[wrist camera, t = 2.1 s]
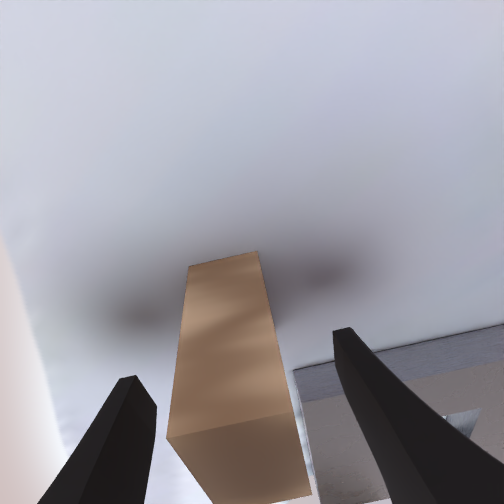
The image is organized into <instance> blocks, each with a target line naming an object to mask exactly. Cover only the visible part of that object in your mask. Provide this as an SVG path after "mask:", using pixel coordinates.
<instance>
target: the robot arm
mask: <svg viewBox="0 0 504 504" xmlns="http://www.w3.org/2000/svg"><path fill="white" fill-rule="evenodd" d="M333 344H334V358H335V368H336V371H337V373H338V376H339V379H340V382H341V385H342V388H343V391H344V393H345V396H346V398H347V400H348V403H349V405H350V407H351V409H352V411H353V413H354V416H355V418H356V420H357V422H358V424H359V426H360V428H361V431H362V433H363V435H364V437H365V439H366V441H367V443H368V446H369V448H370V450H371V452H372V454H373V456H374V458H375V461H376V463H377V465H378V468H379V470H380V472H381V475H382V477H383V480H384V482H385V485H386V488H387V490H388V493H389V496H390V498H391V501H392V504H504V464H503V463H502V462H500V461H499V460H498V459H496V458H495V457H493V456H492V455H490V454H489V453H488V452H486V451H485V450H483V449H482V448H481V447H480V446H478V445H477V444H476V443H474V442H473V441H472V440H470V439H469V438H468V437H466V436H465V435H464V434H463V433H461V432H460V431H459V430H457V429H456V428H455V427H454V426H452V425H451V424H450V423H449V422H447V421H446V420H445V419H444V418H443V417H441V416H440V415H439V414H438V413H437V412H435V411H434V410H433V409H432V408H431V407H430V406H428V405H427V404H426V403H425V402H424V401H423V400H422V399H420V398H419V397H418V396H417V395H416V394H415V393H414V392H413V391H412V390H410V389H409V388H408V387H407V386H406V385H405V384H404V383H403V382H402V381H401V380H400V379H399V378H398V377H397V376H396V375H395V374H394V373H393V372H392V371H391V370H390V369H389V368H388V367H387V366H386V365H385V364H384V363H383V362H382V361H381V360H380V359H379V358H378V357H377V356H376V355H375V354H374V353H373V352H372V351H371V350H370V349H369V348H368V346H367V345H366V344H365V343H364V342H363V341H362V340H361V339H360V337H359V336H358V335H357V334H356V333H355V331H354V330H353V329H352V328H350V327H348V328H344V329H339V330H335V331H333ZM156 417H157V405H156V404H155V402H154V401H153V399H152V398H151V397H150V395H149V394H148V392H147V391H146V389H145V388H144V386H143V385H142V383H141V382H140V380H139V379H138V377H137V376H136V375H133V376H129V377H125V378H120V379H119V380H118V382H117V383H116V385H115V387H114V388H113V390H112V391H111V393H110V395H109V396H108V398H107V399H106V401H105V403H104V404H103V406H102V408H101V409H100V411H99V412H98V414H97V416H96V417H95V419H94V421H93V422H92V424H91V425H90V427H89V428H88V430H87V432H86V433H85V435H84V436H83V438H82V439H81V441H80V443H79V444H78V446H77V447H76V449H75V450H74V452H73V453H72V455H71V456H70V458H69V459H68V461H67V462H66V464H65V465H64V467H63V468H62V470H61V471H60V472H59V474H58V475H57V477H56V479H55V480H54V481H53V483H52V484H51V485H50V487H49V488H48V490H47V491H46V492H45V494H44V495H43V496H42V498H41V499H40V501H39V502H38V503H37V504H144V500H145V495H146V489H147V483H148V477H149V472H150V466H151V460H152V454H153V448H154V442H155V434H156Z"/></svg>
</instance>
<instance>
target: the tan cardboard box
mask: <svg viewBox="0 0 504 504" xmlns="http://www.w3.org/2000/svg"><path fill="white" fill-rule="evenodd" d="M166 439H167V440H168V442H169V443H170V445H171V446H172V447H173V449H174V450H175V451H176V453H177V454H178V456H179V457H180V458H181V460H182V461H183V463H184V464H185V465H186V467H187V468H188V470H189V471H190V472H191V474H192V475H193V476H194V478H195V479H196V481H197V482H198V483H199V485H200V486H201V488H202V489H203V490H204V492H205V493H206V495H207V496H208V497H209V499H210V500H211V501H212V503H213V504H271V503H276V502H281V501H285V500H290V499H295V498H300V497H304V496H309V495H312V492H311V487H310V483H309V478H308V474H307V469H306V465H305V461H304V456H303V452H302V447H301V443H300V438H299V434H298V430H297V425H296V421H295V416H294V412H293V407H292V403H291V399H290V394H289V390H288V385H287V381H286V376H285V372H284V368H283V363H282V359H281V354H280V350H279V345H278V341H277V337H276V332H275V328H274V323H273V319H272V314H271V310H270V306H269V301H268V297H267V292H266V288H265V283H264V279H263V275H262V270H261V266H260V261H259V257H258V252H257V251H254V252H250V253H245V254H241V255H237V256H232V257H228V258H223V259H219V260H214V261H210V262H206V263H201V264H197V265H192V266H189V269H188V276H187V284H186V291H185V299H184V307H183V314H182V322H181V329H180V337H179V345H178V352H177V360H176V367H175V375H174V382H173V390H172V398H171V405H170V413H169V420H168V428H167V436H166Z"/></svg>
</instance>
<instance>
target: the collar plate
mask: <svg viewBox="0 0 504 504" xmlns="http://www.w3.org/2000/svg"><path fill="white" fill-rule="evenodd" d="M374 354H375V355H376V356H377V357H378V358H379V359H380V360H381V361H382V362H383V363H384V364H385V365H386V366H387V367H388V368H389V369H390V370H391V371H392V372H393V373H394V374H395V375H396V376H397V377H398V378H399V379H400V380H401V381H402V382H403V383H404V384H405V385H406V386H407V387H408V388H409V389H410V390H412V391H413V392H414V393H415V394H416V395H417V396H418V397H419V398H420V399H422V400H423V401H424V402H425V403H426V404H427V405H428V406H430V407H431V408H432V409H433V410H434V411H435V412H437V413H438V414H439V415H440V416H446V415H448V416H447V420H446V421H447V422H449V423H450V424H451V425H452V426H454V427H455V428H456V429H457V430H459V431H460V432H461V433H463V434H464V435H465V436H466V437H468V438H469V439H470V440H472V441H473V442H474V443H476V444H477V445H478V446H480V447H481V448H482V449H483V450H485V451H486V452H488V453H489V454H490V455H492V456H493V457H495V458H496V459H498V460H499V461H500V462H502V463H503V464H504V325H500V326H495V327H491V328H486V329H481V330H477V331H472V332H468V333H463V334H458V335H454V336H449V337H445V338H440V339H436V340H431V341H426V342H422V343H417V344H413V345H408V346H403V347H399V348H394V349H390V350H385V351H380V352H376V353H374ZM293 373H294V378H295V383H296V388H297V393H298V398H299V403H300V408H301V413H302V418H303V423H304V428H305V433H306V438H307V443H308V448H309V453H310V458H311V463H312V468H313V473H314V478H315V482H316V487H317V491H318V496H319V500H320V503H321V504H364V503H369V502H373V501H378V500H383V499H387V498H390V496H389V493H388V490H387V488H386V485H385V482H384V480H383V477H382V475H381V472H380V470H379V468H378V465H377V463H376V461H375V458H374V456H373V454H372V452H371V450H370V448H369V446H368V443H367V441H366V439H365V437H364V435H363V433H362V431H361V428H360V426H359V424H358V422H357V420H356V418H355V416H354V413H353V411H352V409H351V407H350V405H349V403H348V400H347V398H346V396H345V393H344V391H343V388H342V385H341V382H340V379H339V376H338V373H337V371H336V368H335V362H330V363H325V364H321V365H316V366H312V367H307V368H302V369H298V370H293Z"/></svg>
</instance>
